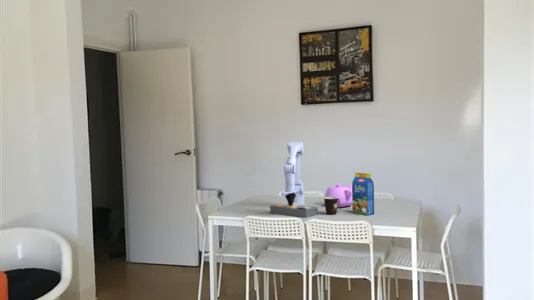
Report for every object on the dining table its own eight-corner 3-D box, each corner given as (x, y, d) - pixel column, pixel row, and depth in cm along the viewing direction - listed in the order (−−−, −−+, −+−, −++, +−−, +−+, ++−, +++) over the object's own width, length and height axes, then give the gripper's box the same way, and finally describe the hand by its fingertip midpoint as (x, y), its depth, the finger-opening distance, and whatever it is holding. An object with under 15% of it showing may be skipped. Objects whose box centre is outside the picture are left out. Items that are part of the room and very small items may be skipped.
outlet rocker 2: (294, 203, 301) (293, 201, 301) (301, 204, 298) (301, 202, 297) (285, 209, 295) (285, 207, 294) (293, 210, 291) (292, 208, 291)
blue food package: (367, 215, 284) (367, 174, 283) (352, 213, 293) (351, 172, 292) (374, 214, 288) (373, 173, 286) (358, 211, 297) (358, 171, 296)
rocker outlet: (305, 208, 295) (305, 206, 296) (313, 209, 292) (313, 207, 292) (297, 207, 289) (297, 205, 289) (304, 208, 285) (305, 206, 285)
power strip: (282, 209, 310) (281, 203, 310) (317, 214, 292) (317, 207, 292) (270, 212, 301) (270, 205, 300) (306, 217, 283) (306, 210, 282)
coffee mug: (327, 215, 287) (327, 199, 286) (322, 213, 295) (321, 197, 295) (345, 214, 290) (345, 198, 290) (339, 211, 298) (339, 196, 298)
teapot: (342, 210, 303) (341, 186, 303) (320, 205, 321) (320, 183, 320) (367, 206, 316) (367, 183, 315) (345, 202, 333) (345, 180, 333)
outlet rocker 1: (283, 202, 307) (282, 200, 307) (290, 203, 303) (289, 201, 303) (274, 208, 300) (274, 206, 300) (281, 208, 297) (281, 206, 297)
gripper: (288, 185, 285) (288, 208, 286) (302, 182, 296) (302, 204, 297) (278, 185, 289) (279, 207, 290) (293, 182, 300) (293, 203, 301)
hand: (290, 205), depth 294 cm, fingers closed
